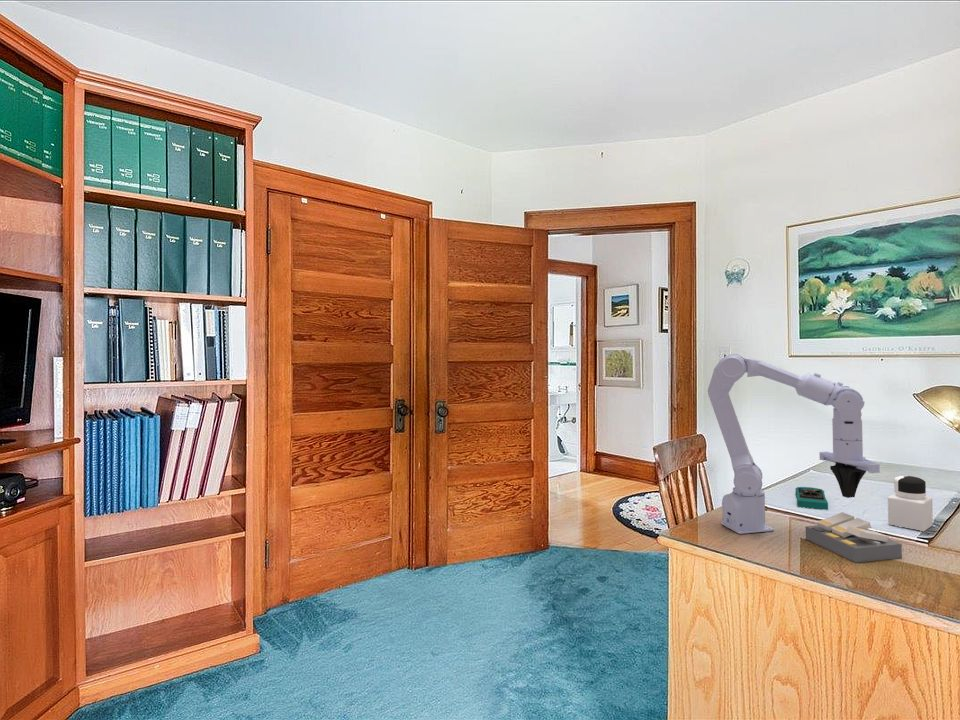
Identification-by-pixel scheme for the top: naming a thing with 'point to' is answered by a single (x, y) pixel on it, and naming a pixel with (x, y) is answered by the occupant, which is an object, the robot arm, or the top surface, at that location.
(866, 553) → the switch unit
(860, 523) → the rocker
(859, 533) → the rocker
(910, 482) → the medicine bottle
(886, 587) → the top surface
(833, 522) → the rocker
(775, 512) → the top surface
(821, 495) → the digital multimeter
